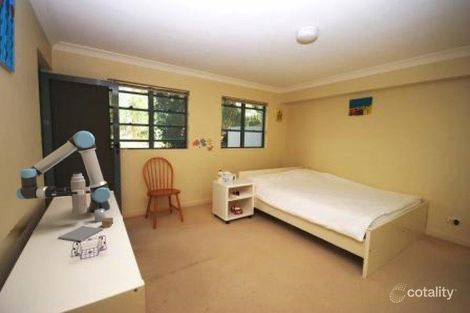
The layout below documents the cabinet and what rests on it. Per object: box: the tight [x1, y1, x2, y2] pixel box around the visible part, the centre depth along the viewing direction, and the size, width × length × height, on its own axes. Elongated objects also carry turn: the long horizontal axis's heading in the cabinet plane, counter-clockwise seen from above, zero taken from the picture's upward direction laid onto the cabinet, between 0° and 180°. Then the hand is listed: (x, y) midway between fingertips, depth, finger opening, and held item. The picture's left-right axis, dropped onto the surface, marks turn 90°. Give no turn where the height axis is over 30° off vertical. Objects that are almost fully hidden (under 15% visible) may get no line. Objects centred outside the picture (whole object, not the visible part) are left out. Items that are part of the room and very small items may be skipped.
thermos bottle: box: [70, 171, 88, 215], centre depth 146 cm, size 8×8×28 cm
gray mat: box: [58, 225, 104, 242], centre depth 134 cm, size 16×16×1 cm
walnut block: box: [101, 217, 114, 229], centre depth 146 cm, size 5×5×5 cm
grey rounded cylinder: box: [94, 209, 106, 223], centre depth 154 cm, size 6×6×8 cm
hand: (86, 190), depth 147 cm, fingers closed on thermos bottle, 8 cm apart
